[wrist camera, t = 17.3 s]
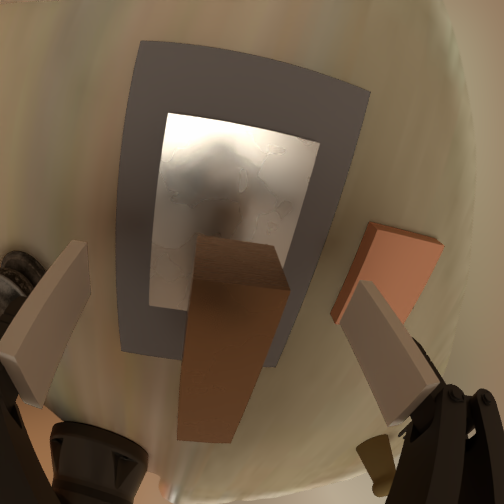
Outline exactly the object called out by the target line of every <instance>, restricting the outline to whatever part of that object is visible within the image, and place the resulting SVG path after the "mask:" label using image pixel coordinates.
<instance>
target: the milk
mask: <svg viewBox="0 0 504 504" xmlns="http://www.w3.org/2000/svg"><path fill="white" fill-rule="evenodd" d="M29 1H59V0H0V4H4V3H14V2H29Z"/></svg>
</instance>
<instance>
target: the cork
mask: <svg viewBox="0 0 504 504" xmlns="http://www.w3.org/2000/svg"><path fill="white" fill-rule="evenodd" d="M356 451H357V452H358V454H359V456H360V458H361V460H362V462H363V464H364V466H365V468H366V469H367V471H368V473H369V475H370V477H371V479H372V481H373V483H374V484H373V486H372V491H373V493H374V495H375V496H377V497H383V496H387V495H388V494H389V491H390V488H391V485H392V482H393V479H394V476H395V473H396V469H395V464H394V460H393V455H392V451H391V447H390V443H389V438H388V435H386V434H385V435H379V436H376V437H373V438H371V439H369V440H367V441H365V442H363V443H361V444H360V445H359V446H358V447H357V448H356Z"/></svg>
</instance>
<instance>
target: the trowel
mask: <svg viewBox="0 0 504 504" xmlns="http://www.w3.org/2000/svg"><path fill="white" fill-rule="evenodd" d="M319 145H320V143H318V142H316V141H313V140H309V139H305V138H301V137H297V136H294V135H290V134H285V133H281V132H277V131H273V130H268V129H264V128H259V127H255V126H250V125H245V124H240V123H234V122H229V121H223V120H218V119H212V118H206V117H199V116H192V115H185V114H178V113H168V117H167V123H166V129H165V135H164V141H163V147H162V154H161V161H160V168H159V176H158V184H157V192H156V201H155V211H154V222H153V234H152V248H151V264H150V287H149V305H150V306H156V307H163V308H170V309H178V310H185V311H187V317H186V325H185V334H184V344H183V354H182V364H181V375H180V387H179V402H178V424H177V440H183V441H194V442H209V443H231V441H232V439H233V436H234V434H235V432H236V430H237V427H238V425H239V423H240V420H241V418H242V416H243V413H244V411H245V408H246V406H247V404H248V401H249V399H250V396H251V394H252V391H253V389H254V387H255V384H256V382H257V379H258V377H259V374H260V372H261V369H262V366H263V364H264V361H265V359H266V356H267V354H268V351H269V348H270V346H271V343H272V341H273V338H274V335H275V333H276V330H277V327H278V325H279V322H280V319H281V317H282V314H283V311H284V308H285V306H286V303H287V300H288V297H289V294H290V292H291V290H290V287H289V285H288V282H287V279H286V277H285V274H284V271H283V267H284V263H285V260H286V257H287V254H288V251H289V247H290V244H291V241H292V238H293V234H294V231H295V228H296V225H297V221H298V218H299V215H300V211H301V208H302V205H303V201H304V198H305V194H306V191H307V187H308V184H309V181H310V177H311V174H312V170H313V167H314V163H315V159H316V156H317V152H318V149H319Z"/></svg>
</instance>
